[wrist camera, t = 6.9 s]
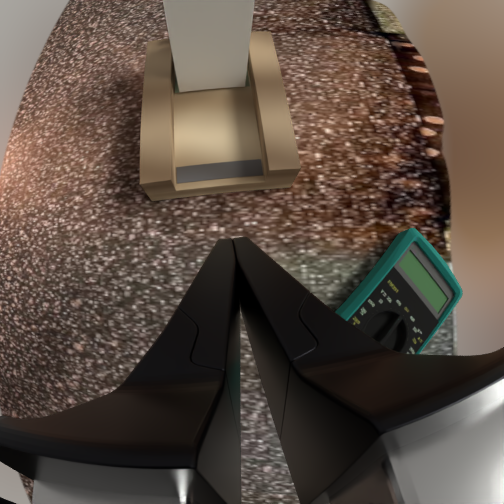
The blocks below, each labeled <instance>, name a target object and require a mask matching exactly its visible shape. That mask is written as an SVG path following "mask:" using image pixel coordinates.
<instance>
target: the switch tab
mask: <svg viewBox="0 0 504 504" xmlns="http://www.w3.org/2000/svg"><path fill="white" fill-rule="evenodd" d="M254 2H255V0H163V4H164V10H165V16H166V22H167V28H168V33H169V39H170V45H171V50H172V55H173V61H174V66H175V71H176V77H177V82H178V87H179V92H186V91H195V90H205V89H216V88H229V87H245V82H246V73H247V63H248V54H249V45H250V36H251V27H252V18H253V10H254Z"/></svg>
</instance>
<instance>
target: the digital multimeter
mask: <svg viewBox="0 0 504 504" xmlns="http://www.w3.org/2000/svg"><path fill="white" fill-rule="evenodd" d="M388 272H389V273H388ZM384 277H385V278H384ZM380 282H381V283H380ZM379 283H380V284H379ZM375 288H376V289H375ZM374 289H375V290H374ZM369 295H370V296H369ZM461 297H462V289H461V287H460V285H459V283H458V282H457V280H456V278H455V276H454V275H453V273H452V272H451V270H450V269H449V267H448V265H447V264H446V263H445V261H444V260H443V259H442V257H441V256H440V255H439V253H438V252H437V251H436V250H435V249H434V248H433V247H432V245H431V244H430V243H429V242H428V241H427V240H426V239H425V238H424V237H423V236H422V235H421V234H420V233H419V232H418V231H417V230H416V229H415V228H410V229H408V230H405V231H403V232H400V233H399V234H398V235H397V236H396V238H395V239H394V241H393V242H392V243H391V245H390V246H389V247H388V249H387V250H386V252H385V253H384V254H383V256H382V257H381V258H380V260H379V261H378V262H377V264H376V265H375V266H374V268H373V269H372V270H371V271H370V273H369V274H368V275H367V276H366V277H365V279H364V280H363V281H362V282H361V283H360V285H359V286H358V287H357V288H356V289H355V290H354V292H353V293H352V294H351V295H350V296H349V297H348V299H347V300H346V301H345V302H344V303H343V304H342V305H341V306H340V307H339V308H338V309H337V310H336V312H335V313H337V314H338V315H340V316H341V317H342V318H344V319H345V320H346V321H347V320H348V319H349V318H350V319H349V320H348V322H349V323H351V324H352V325H354V326H355V327H357V328H358V329H360V330H361V331H363V332H364V333H366V334H367V335H369V336H370V337H371V338H373V339H374V340H376V341H377V342H379V343H380V344H382V345H384V346H385V347H387V348H389V349H391V350H394V351H396V352H400V353H406V354H420V352H421V351H422V350H423V348H424V347H425V346H426V345H427V343H428V342H429V341H430V339H431V338H432V337H433V335H434V334H435V333H436V331H437V330H438V329H439V327H440V326H441V325H442V323H443V322H444V321H445V319H446V318H447V317H448V315H449V314H450V313H451V311H452V310H453V308H454V307H455V306H456V304H457V303H458V301H459V300H460V298H461ZM363 302H364V303H363ZM390 308H391V309H390ZM357 309H358V310H357ZM356 310H357V311H356ZM405 319H406V320H405ZM407 324H408V325H407ZM408 329H409V330H408ZM406 344H407V345H406Z"/></svg>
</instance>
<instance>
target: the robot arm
mask: <svg viewBox="0 0 504 504" xmlns="http://www.w3.org/2000/svg"><path fill="white" fill-rule="evenodd" d="M240 308H241V313H242V317H243V320H244V324H245V327H246V330H247V334H248V337H249V341H250V344H251V348H252V351H253V354H254V358H255V361H256V365H257V368H258V371H259V375H260V378H261V381H262V385H263V388H264V391H265V394H266V398H267V401H268V404H269V408H270V411H271V414H272V417H273V420H274V424H275V427H276V430H277V433H278V436H279V439H280V443H281V446H282V449H283V452H284V455H285V458H286V461H287V465H288V468H289V471H290V474H291V477H292V480H293V483H294V486H295V489H296V492H297V495H298V498H299V501H300V504H328V503H330V504H504V347H503V348H501V349H499V350H497V351H495V352H492V353H488V354H483V355H473V356H452V355H423V354H406V353H400V352H396V351H394V350H391V349H389V348H387V347H385V346H384V345H382V344H380V343H379V342H377V341H376V340H374V339H373V338H371V337H370V336H369V335H367V334H366V333H364V332H363V331H361V330H360V329H358V328H357V327H355V326H354V325H352V324H351V323H349V322H348V321H346V320H345V319H344V318H342V317H341V316H340V315H338V314H337V313H335V312H334V311H333V310H331V309H330V308H329V307H328V306H326V305H325V304H324V303H323V302H322V301H320V300H319V299H318V298H317V297H316V296H314V295H313V294H312V293H310V291H309V290H307V289H306V288H305V287H304V286H303V285H302V284H301V283H299V282H298V281H297V280H296V279H295V278H294V277H292V276H291V275H290V274H289V273H288V272H287V271H286V270H284V269H283V268H282V267H281V266H280V265H279V264H277V263H276V262H275V261H274V260H273V259H272V258H271V257H269V256H268V255H267V254H266V253H265V252H264V251H262V250H261V249H260V248H259V247H258V246H257V245H255V244H254V243H253V242H252V241H251V240H250V239H249V238H247V237H238V238H234V239H233V240H232V239H231V238H228V239H219V240H218V241H217V243H216V244H215V246H214V247H213V249H212V251H211V252H210V254H209V256H208V257H207V259H206V260H205V262H204V264H203V265H202V267H201V269H200V270H199V272H198V274H197V275H196V277H195V279H194V280H193V282H192V284H191V285H190V287H189V289H188V290H187V292H186V294H185V295H184V297H183V299H182V300H181V302H180V304H179V306H178V308H177V309H176V310H175V312H174V314H173V316H172V317H171V319H170V320H169V322H168V324H167V325H166V327H165V328H164V330H163V331H162V333H161V334H160V335H159V337H158V338H157V340H156V341H155V342H154V344H153V345H152V346H151V348H150V349H149V350H148V351H147V353H146V354H145V355H144V357H143V358H142V359H141V360H140V362H139V363H138V364H137V366H136V367H135V368H134V370H133V371H132V372H131V373H130V375H129V376H128V377H127V378H126V380H125V381H124V382H123V383H122V384H121V385H120V386H119V387H118V388H116V389H115V390H114V391H112V392H111V393H109V394H107V395H104V396H102V397H99V398H97V399H94V400H91V401H89V402H86V403H83V404H81V405H78V406H75V407H73V408H70V409H67V410H64V411H62V412H59V413H56V414H53V415H50V416H46V417H42V418H37V419H18V418H13V417H8V416H0V461H1V462H2V463H4V464H5V465H7V466H9V467H11V468H12V469H14V470H16V471H17V472H19V473H21V474H23V475H25V476H26V477H28V478H30V479H32V480H34V486H33V499H32V504H241V447H240V446H241V423H240ZM0 504H16V503H14V502H11V501H8V500H6V499H3V498H1V497H0Z"/></svg>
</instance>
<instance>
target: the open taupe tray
mask: <svg viewBox="0 0 504 504" xmlns="http://www.w3.org/2000/svg"><path fill="white" fill-rule="evenodd" d="M300 169H301V166H300V161H299V156H298V150H297V145H296V140H295V135H294V130H293V125H292V121H291V116H290V111H289V107H288V102H287V98H286V93H285V89H284V84H283V80H282V76H281V71H280V67H279V63H278V59H277V55H276V51H275V47H274V43H273V39H272V35H271V32H251V36H250V45H249V54H248V63H247V73H246V82H245V87H229V88H216V89H205V90H195V91H186V92H179V87H178V82H177V77H176V71H175V66H174V61H173V55H172V50H171V45H170V39H169V38H168V39H161V40H155V41H149V42H148V44H147V53H146V62H145V72H144V83H143V96H142V112H141V134H140V185H141V187H142V188H143V189H144V191H145V192H146V193H147V195H148V196H149V198H150V199H151V200H152V201H158V200H166V199H174V198H182V197H191V196H199V195H209V194H218V193H229V192H239V191H251V190H263V189H276V188H290V187H291V185H292V183H293V182H294V180H295V178H296V176H297V175H298V173H299V171H300Z"/></svg>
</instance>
